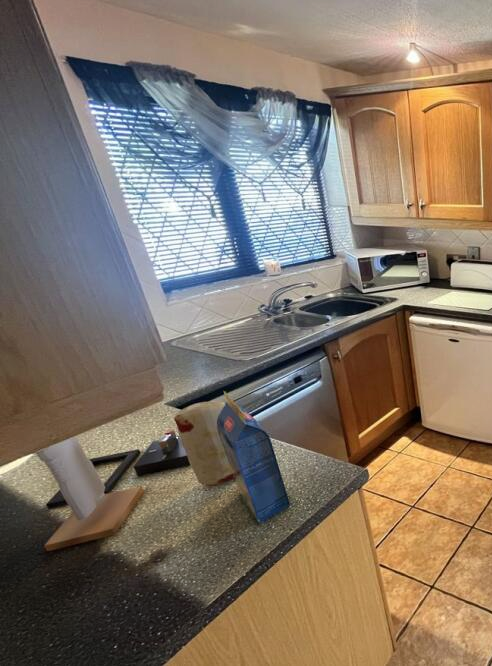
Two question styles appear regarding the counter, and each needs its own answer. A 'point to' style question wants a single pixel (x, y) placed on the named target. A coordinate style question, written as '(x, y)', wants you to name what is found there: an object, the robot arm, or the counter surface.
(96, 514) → the oak board
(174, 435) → the knob
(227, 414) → the blue food package
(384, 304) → the counter surface
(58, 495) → the black rectangular frame
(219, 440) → the food model
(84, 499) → the tall pale column
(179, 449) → the panel
